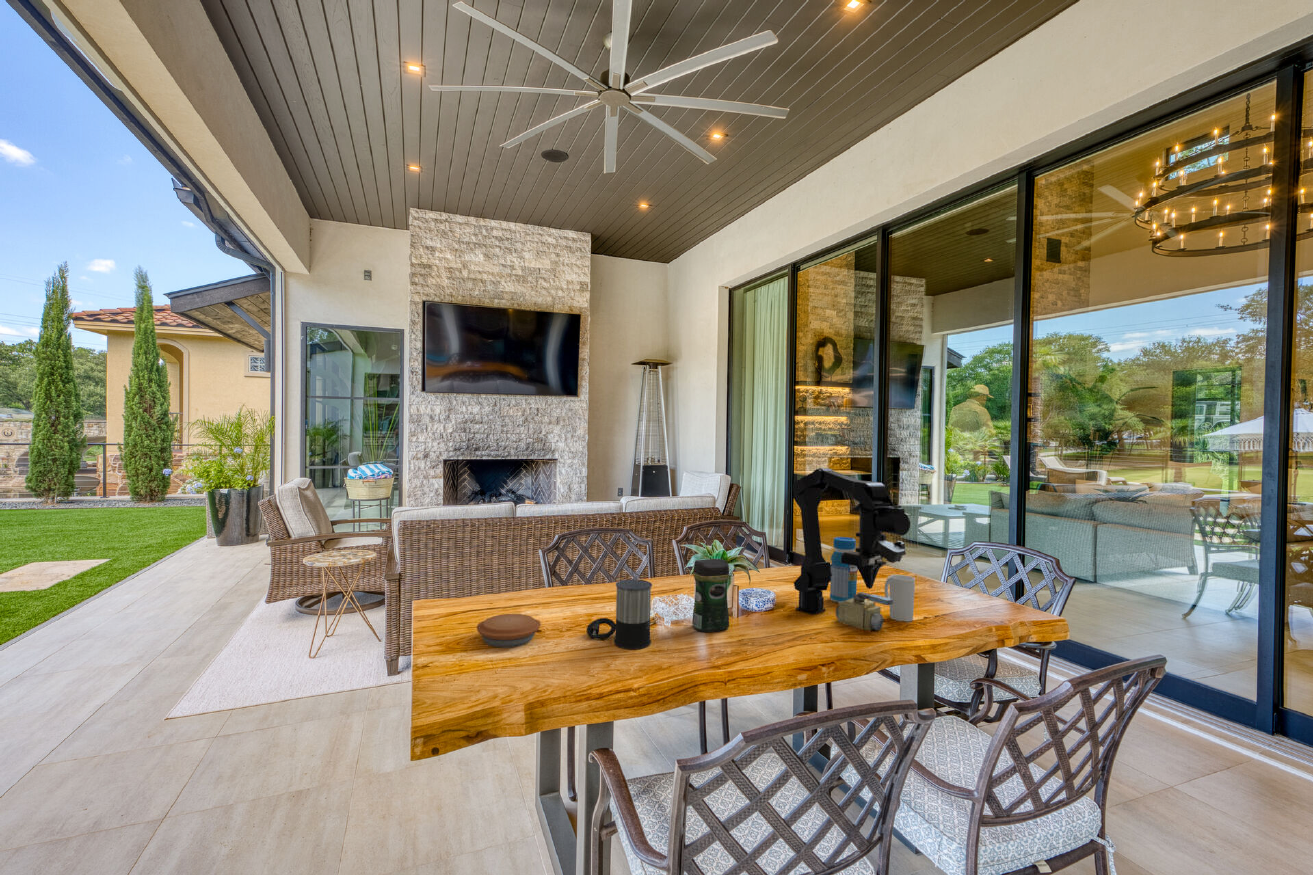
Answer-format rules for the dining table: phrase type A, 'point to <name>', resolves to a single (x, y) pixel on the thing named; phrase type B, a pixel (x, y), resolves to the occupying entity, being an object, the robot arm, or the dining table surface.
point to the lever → (872, 598)
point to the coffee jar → (711, 595)
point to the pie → (508, 630)
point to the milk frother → (628, 616)
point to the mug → (901, 597)
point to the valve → (860, 614)
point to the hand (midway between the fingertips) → (869, 588)
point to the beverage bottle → (842, 571)
